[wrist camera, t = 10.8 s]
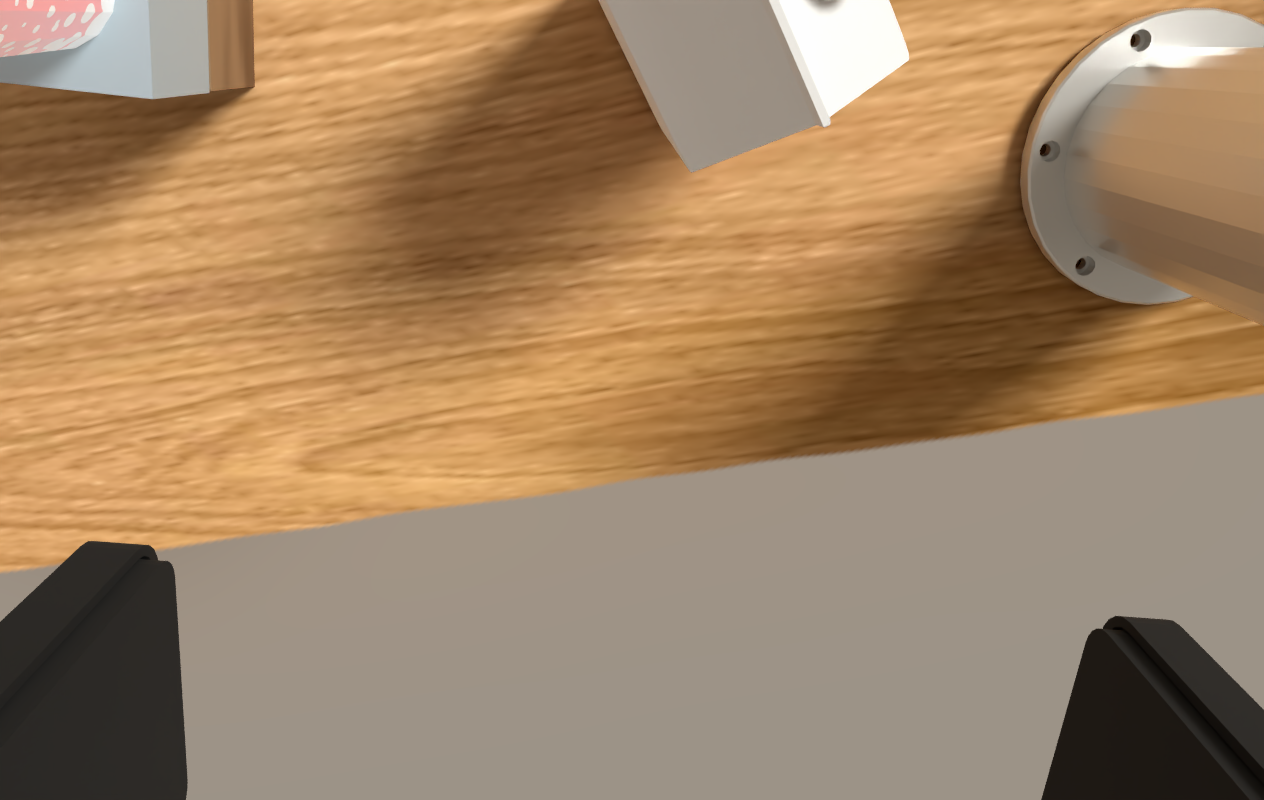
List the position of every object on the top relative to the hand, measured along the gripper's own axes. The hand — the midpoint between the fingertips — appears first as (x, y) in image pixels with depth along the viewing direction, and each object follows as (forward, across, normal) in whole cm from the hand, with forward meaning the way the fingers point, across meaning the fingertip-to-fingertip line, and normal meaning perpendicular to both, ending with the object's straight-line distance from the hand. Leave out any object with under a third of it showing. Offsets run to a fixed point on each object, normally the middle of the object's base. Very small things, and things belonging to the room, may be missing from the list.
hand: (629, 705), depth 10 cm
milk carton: (+36, -3, -8) cm, 37 cm away
